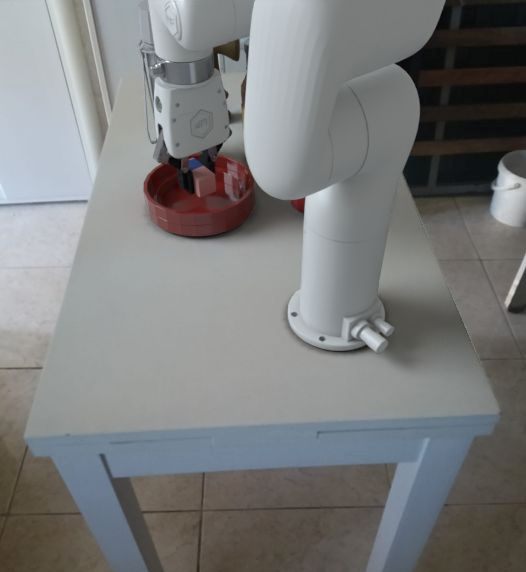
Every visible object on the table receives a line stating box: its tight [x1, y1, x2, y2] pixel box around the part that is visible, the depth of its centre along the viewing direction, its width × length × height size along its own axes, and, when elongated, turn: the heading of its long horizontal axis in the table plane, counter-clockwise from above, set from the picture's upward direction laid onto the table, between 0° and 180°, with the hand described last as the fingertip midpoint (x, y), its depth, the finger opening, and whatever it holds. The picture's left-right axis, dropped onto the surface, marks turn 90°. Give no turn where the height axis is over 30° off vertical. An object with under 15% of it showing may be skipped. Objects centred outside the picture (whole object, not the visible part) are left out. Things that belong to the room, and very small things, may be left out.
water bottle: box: [136, 0, 202, 154], centre depth 92 cm, size 9×8×25 cm
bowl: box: [142, 153, 256, 237], centre depth 90 cm, size 17×17×4 cm
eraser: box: [189, 158, 216, 198], centre depth 89 cm, size 6×3×3 cm, turn 37°
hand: (197, 185), depth 90 cm, fingers closed on eraser, 3 cm apart
